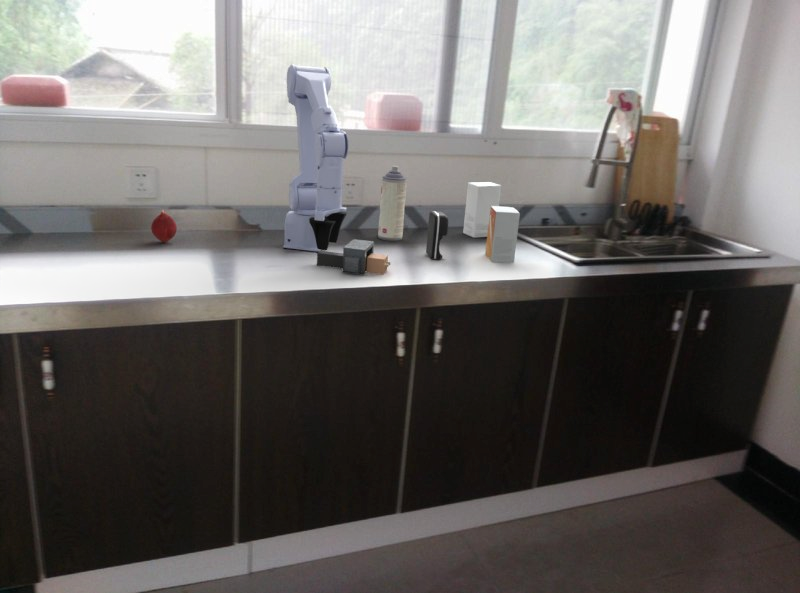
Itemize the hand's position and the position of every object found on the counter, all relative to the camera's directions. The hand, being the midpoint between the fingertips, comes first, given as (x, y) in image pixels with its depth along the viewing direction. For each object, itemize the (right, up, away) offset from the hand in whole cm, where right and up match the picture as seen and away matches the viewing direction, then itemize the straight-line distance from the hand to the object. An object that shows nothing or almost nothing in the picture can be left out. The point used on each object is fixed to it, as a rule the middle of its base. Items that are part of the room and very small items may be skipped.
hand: (327, 245), depth 148 cm
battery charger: (+26, -2, +17) cm, 31 cm away
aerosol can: (+14, +5, +33) cm, 36 cm away
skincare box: (+41, +7, +45) cm, 61 cm away
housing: (+7, -5, 0) cm, 9 cm away
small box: (+43, -2, +20) cm, 47 cm away
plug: (+6, -5, 0) cm, 8 cm away
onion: (-41, +1, +10) cm, 42 cm away
